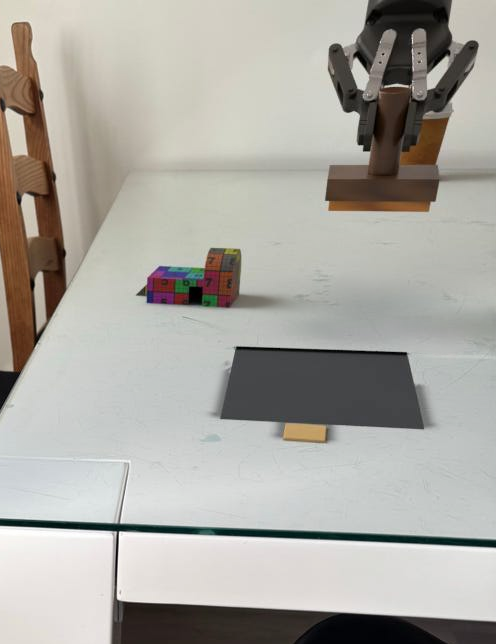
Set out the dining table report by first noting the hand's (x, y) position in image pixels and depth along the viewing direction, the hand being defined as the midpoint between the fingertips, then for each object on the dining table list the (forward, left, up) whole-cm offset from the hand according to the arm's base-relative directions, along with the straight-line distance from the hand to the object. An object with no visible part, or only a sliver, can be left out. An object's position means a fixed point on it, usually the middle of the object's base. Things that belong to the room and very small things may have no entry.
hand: (387, 145), depth 92 cm
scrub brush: (0, -3, -6) cm, 6 cm away
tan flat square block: (+5, +28, -18) cm, 34 cm away
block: (+19, -11, -18) cm, 28 cm away
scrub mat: (+4, +16, -18) cm, 24 cm away
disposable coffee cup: (-12, -97, -18) cm, 99 cm away
